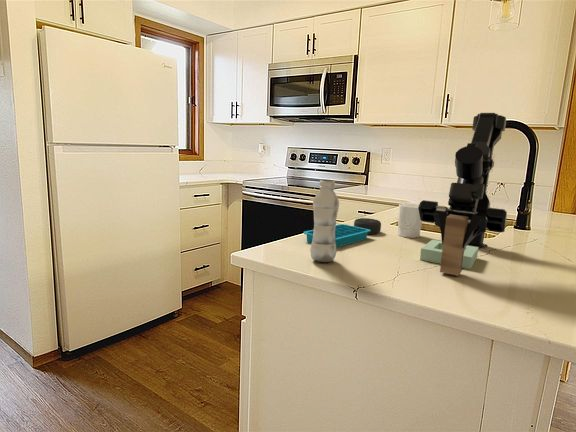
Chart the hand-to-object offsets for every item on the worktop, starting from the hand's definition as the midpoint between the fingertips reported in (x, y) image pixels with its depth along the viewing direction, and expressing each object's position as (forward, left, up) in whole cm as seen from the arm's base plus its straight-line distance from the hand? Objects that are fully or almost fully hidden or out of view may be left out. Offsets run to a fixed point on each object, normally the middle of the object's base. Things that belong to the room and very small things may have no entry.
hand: (452, 245), depth 89 cm
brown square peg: (-1, -1, -7) cm, 7 cm away
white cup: (-20, -34, -7) cm, 40 cm away
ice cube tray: (+6, -37, -8) cm, 38 cm away
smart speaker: (-10, -43, -8) cm, 45 cm away
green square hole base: (-11, -10, -7) cm, 16 cm away
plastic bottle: (+22, -20, -7) cm, 30 cm away
